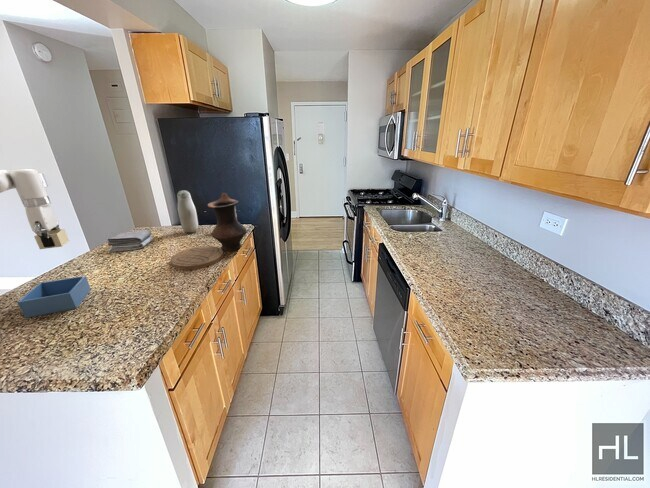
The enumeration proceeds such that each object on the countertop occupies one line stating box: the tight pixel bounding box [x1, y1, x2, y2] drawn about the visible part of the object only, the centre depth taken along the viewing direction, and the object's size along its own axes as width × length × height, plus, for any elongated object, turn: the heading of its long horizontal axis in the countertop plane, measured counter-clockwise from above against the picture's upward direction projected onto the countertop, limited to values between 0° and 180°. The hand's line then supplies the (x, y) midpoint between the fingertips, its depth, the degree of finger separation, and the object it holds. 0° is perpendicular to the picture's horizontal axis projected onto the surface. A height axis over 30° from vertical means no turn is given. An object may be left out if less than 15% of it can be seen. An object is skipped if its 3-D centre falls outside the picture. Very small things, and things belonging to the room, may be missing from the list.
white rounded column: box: [176, 189, 199, 234], centre depth 169 cm, size 10×10×28 cm
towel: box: [107, 229, 154, 253], centre depth 151 cm, size 15×18×8 cm
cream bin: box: [33, 228, 70, 250], centre depth 108 cm, size 7×7×6 cm
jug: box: [207, 192, 248, 253], centre depth 144 cm, size 21×18×30 cm
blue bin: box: [16, 275, 92, 319], centre depth 98 cm, size 14×14×7 cm
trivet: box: [169, 245, 225, 271], centre depth 135 cm, size 25×25×2 cm
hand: (54, 243), depth 109 cm, fingers closed on cream bin, 7 cm apart
